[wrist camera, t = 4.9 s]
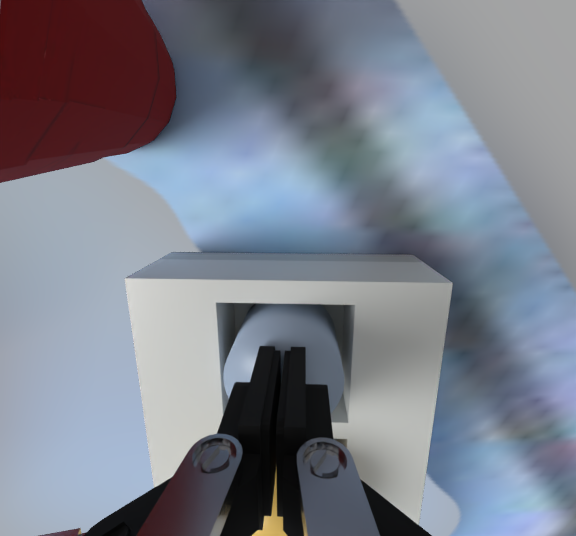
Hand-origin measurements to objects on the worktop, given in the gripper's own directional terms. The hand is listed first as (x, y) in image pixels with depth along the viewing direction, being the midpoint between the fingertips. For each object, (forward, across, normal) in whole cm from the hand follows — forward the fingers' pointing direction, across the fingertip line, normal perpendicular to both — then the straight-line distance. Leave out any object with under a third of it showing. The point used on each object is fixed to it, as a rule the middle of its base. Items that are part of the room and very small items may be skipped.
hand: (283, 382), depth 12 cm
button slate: (+4, 0, 0) cm, 4 cm away
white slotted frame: (+6, 0, +6) cm, 8 cm away
